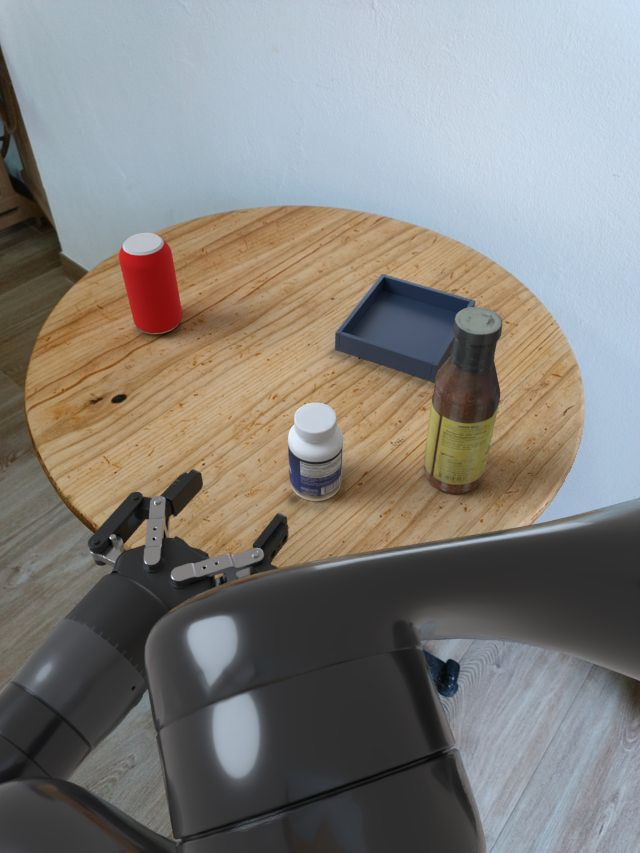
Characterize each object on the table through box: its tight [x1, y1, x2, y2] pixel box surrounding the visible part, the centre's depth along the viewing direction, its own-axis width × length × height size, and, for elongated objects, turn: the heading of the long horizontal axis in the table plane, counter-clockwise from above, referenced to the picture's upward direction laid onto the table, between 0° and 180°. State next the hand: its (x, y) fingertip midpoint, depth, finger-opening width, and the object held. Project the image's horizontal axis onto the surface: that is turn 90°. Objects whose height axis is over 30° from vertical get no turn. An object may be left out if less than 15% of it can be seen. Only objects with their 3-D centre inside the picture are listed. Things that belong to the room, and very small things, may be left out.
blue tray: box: [334, 273, 477, 383], centre depth 87 cm, size 13×14×3 cm
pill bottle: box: [287, 402, 344, 502], centre depth 68 cm, size 5×5×10 cm
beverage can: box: [118, 232, 183, 335], centre depth 85 cm, size 6×6×12 cm
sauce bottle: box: [423, 306, 503, 495], centre depth 65 cm, size 7×6×20 cm
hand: (239, 497), depth 56 cm, fingers open, 8 cm apart
